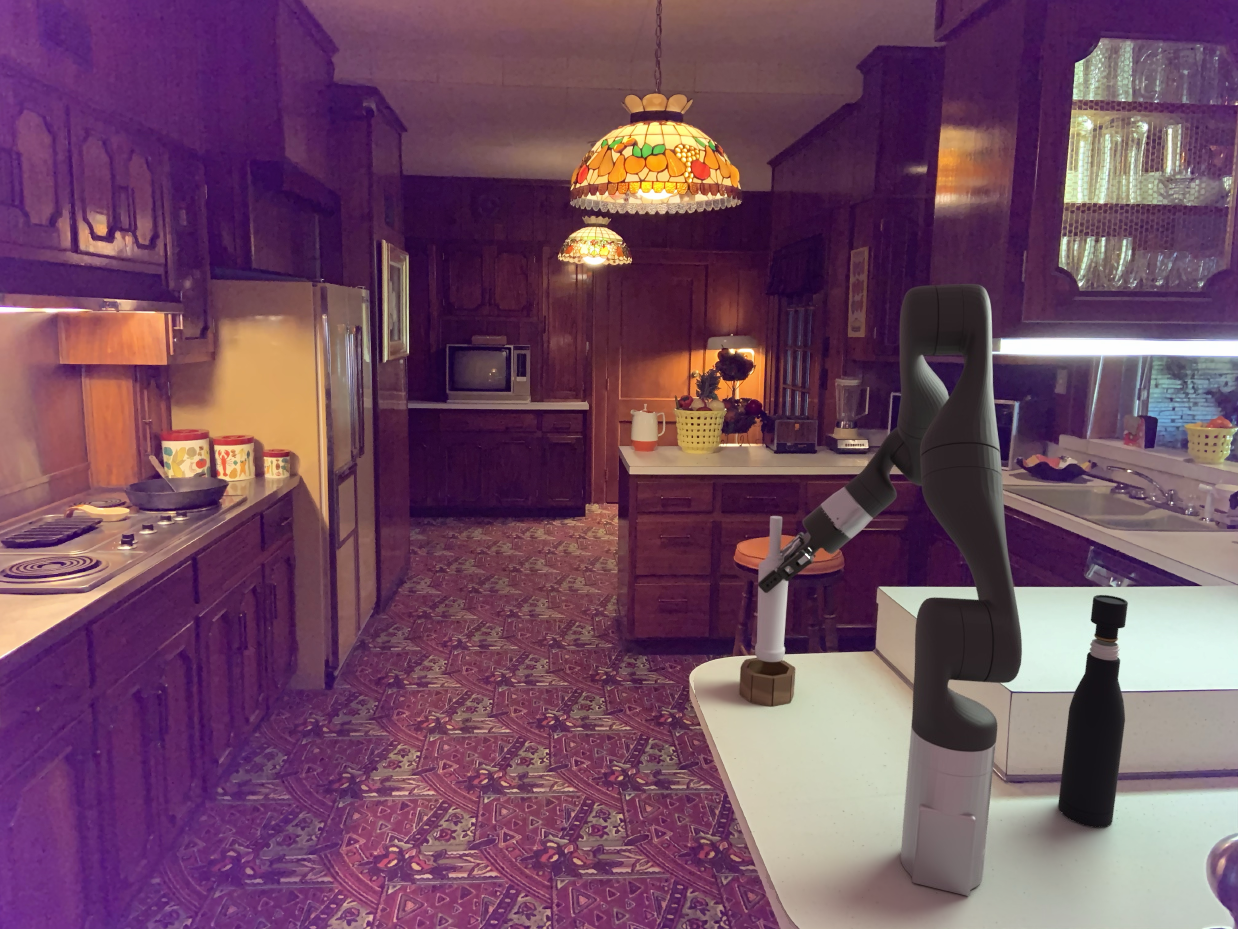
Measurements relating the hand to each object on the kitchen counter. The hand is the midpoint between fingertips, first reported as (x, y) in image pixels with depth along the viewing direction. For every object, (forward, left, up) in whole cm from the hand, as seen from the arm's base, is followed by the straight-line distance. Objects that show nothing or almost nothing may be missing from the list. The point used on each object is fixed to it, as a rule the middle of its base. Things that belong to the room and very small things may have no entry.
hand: (762, 583), depth 145 cm
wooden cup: (0, -2, -20) cm, 20 cm away
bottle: (0, -2, -13) cm, 14 cm away
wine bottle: (-20, -49, -20) cm, 56 cm away
